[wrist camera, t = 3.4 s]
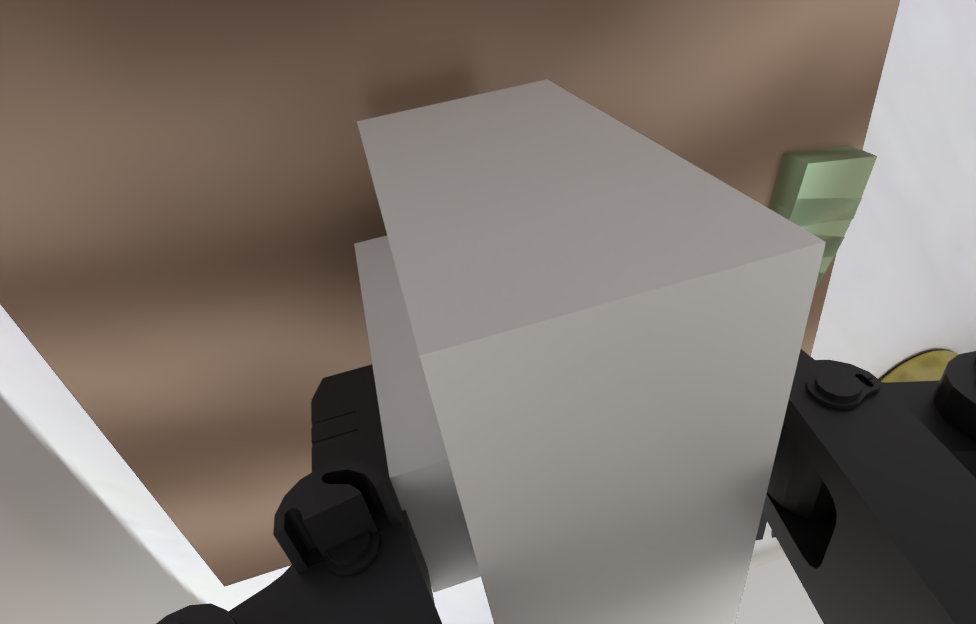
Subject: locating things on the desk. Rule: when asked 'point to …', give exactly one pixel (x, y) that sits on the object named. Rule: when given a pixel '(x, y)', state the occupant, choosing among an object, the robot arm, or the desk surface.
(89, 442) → the desk surface
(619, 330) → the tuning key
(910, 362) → the vase
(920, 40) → the desk surface
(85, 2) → the brown flat square board
